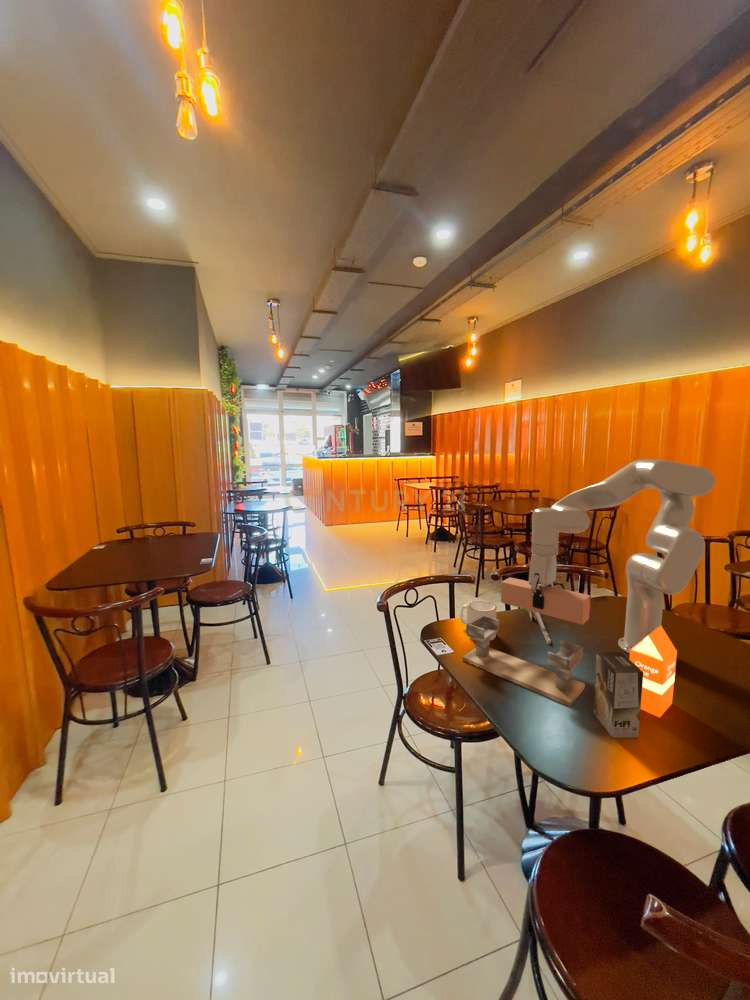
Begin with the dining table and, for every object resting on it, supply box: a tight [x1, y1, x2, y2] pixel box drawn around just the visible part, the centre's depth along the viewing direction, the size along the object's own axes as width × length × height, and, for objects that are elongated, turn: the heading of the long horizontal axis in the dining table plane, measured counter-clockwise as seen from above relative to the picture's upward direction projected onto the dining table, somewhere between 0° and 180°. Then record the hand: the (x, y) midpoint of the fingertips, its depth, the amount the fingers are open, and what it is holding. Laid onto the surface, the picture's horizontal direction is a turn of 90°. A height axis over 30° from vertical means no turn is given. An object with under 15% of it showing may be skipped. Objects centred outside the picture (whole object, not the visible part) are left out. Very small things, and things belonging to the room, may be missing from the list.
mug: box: [459, 599, 498, 641], centre depth 142 cm, size 14×10×11 cm
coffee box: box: [592, 651, 643, 739], centre depth 95 cm, size 9×6×16 cm
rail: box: [500, 576, 591, 626], centre depth 125 cm, size 25×6×7 cm, turn 45°
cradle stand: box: [462, 615, 586, 707], centre depth 117 cm, size 32×11×12 cm, turn 45°
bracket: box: [525, 609, 552, 645], centre depth 145 cm, size 3×21×10 cm, turn 174°
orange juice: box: [628, 625, 678, 718], centre depth 102 cm, size 8×9×20 cm
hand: (542, 604), depth 125 cm, fingers closed on rail, 6 cm apart
